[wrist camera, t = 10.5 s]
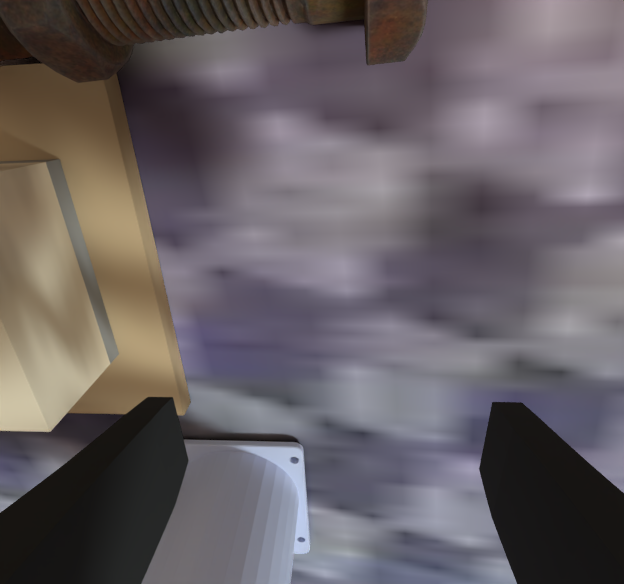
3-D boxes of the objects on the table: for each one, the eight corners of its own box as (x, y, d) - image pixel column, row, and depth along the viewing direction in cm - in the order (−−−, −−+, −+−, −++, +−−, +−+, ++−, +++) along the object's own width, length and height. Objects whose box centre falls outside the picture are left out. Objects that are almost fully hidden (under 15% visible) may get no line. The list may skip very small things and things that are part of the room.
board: (190, 402, 22) (183, 415, 21) (18, 399, 22) (4, 411, 21) (114, 62, 15) (98, 59, 14) (-132, 76, 15) (-162, 75, 15)
